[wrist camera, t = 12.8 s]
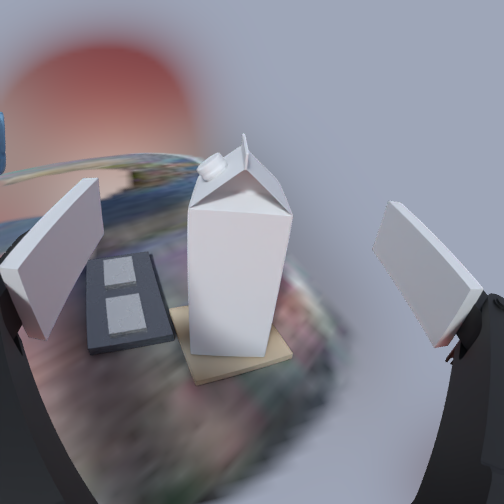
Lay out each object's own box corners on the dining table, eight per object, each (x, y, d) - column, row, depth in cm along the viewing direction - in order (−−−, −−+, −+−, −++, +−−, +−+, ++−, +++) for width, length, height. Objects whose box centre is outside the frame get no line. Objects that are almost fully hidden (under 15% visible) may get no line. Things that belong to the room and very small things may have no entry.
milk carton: (259, 309, 34) (286, 137, 24) (264, 359, 28) (304, 159, 18) (195, 306, 34) (200, 130, 24) (190, 355, 28) (188, 149, 18)
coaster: (169, 314, 33) (169, 308, 33) (250, 297, 37) (251, 292, 37) (195, 385, 26) (195, 381, 25) (291, 358, 30) (292, 353, 29)
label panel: (88, 266, 38) (86, 258, 38) (148, 257, 42) (148, 249, 41) (90, 355, 26) (86, 346, 26) (173, 340, 30) (172, 331, 29)
